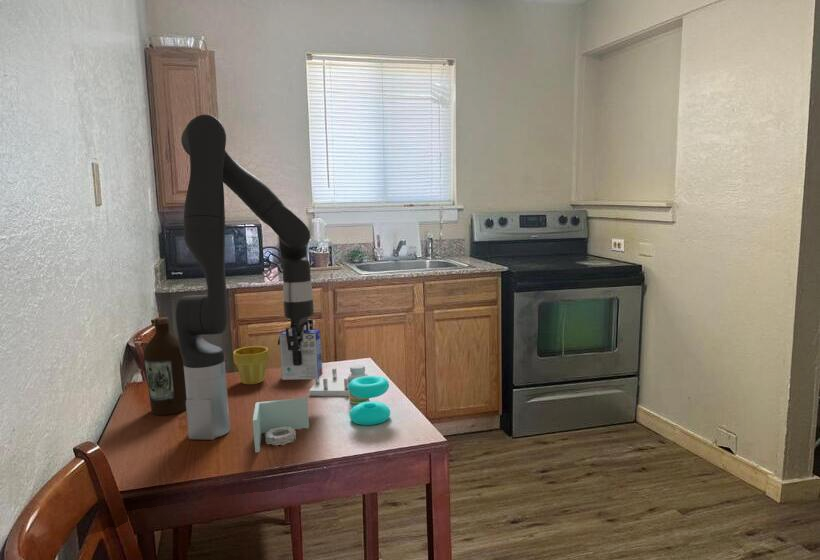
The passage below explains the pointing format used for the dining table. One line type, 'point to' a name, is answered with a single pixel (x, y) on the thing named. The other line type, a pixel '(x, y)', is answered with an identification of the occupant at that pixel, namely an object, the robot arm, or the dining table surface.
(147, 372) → the olive oil
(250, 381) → the plant pot
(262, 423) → the right angle wall
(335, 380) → the pin tray
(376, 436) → the dining table surface
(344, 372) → the dining table surface
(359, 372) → the supplement bottle
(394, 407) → the dining table surface
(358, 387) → the donuts
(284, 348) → the ink cartridge box
